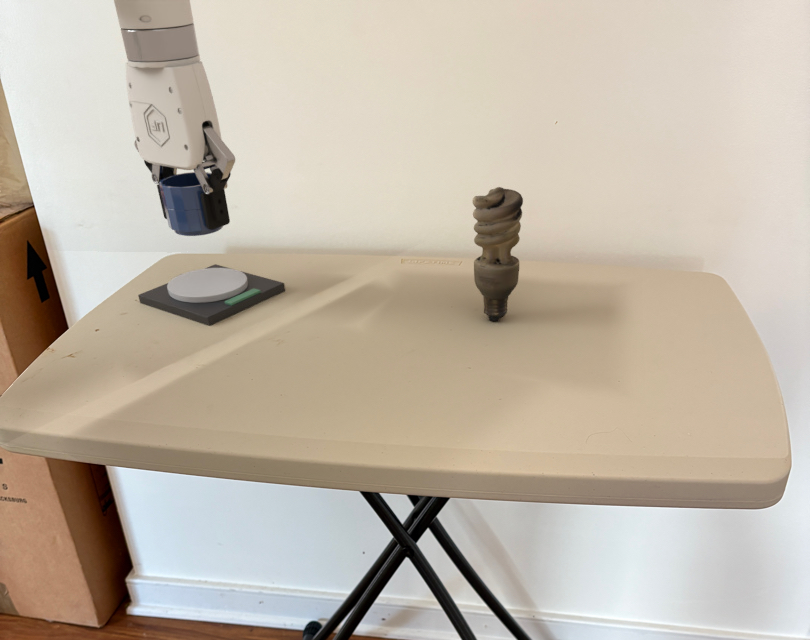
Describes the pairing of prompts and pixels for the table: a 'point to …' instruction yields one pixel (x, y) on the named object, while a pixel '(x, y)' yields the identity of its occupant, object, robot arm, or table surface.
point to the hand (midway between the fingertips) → (196, 220)
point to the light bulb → (497, 248)
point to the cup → (184, 204)
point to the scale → (211, 294)
